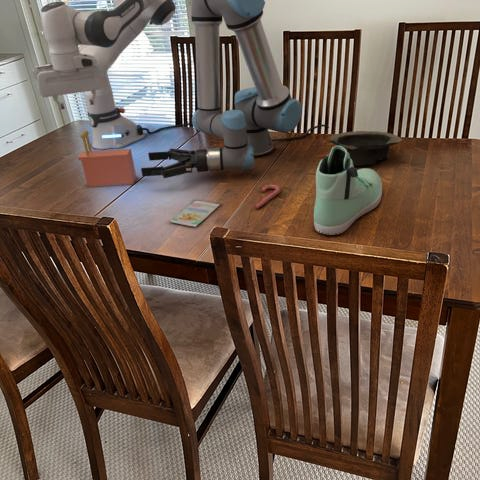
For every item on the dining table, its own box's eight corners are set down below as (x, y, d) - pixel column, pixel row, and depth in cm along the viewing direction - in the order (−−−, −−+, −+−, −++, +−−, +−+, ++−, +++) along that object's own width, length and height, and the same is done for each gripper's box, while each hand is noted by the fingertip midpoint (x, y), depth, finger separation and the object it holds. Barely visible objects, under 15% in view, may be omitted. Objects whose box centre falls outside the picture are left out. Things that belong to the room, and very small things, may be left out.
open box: (87, 186, 165) (80, 160, 160) (92, 180, 170) (85, 154, 165) (133, 184, 165) (127, 157, 159) (136, 177, 169) (131, 151, 164)
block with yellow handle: (78, 160, 160) (72, 135, 156) (83, 154, 165) (77, 130, 160) (127, 157, 159) (122, 132, 155) (131, 151, 164) (126, 127, 160)
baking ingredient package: (169, 220, 138) (195, 199, 150) (169, 222, 139) (195, 200, 150) (195, 225, 135) (220, 203, 146) (195, 227, 135) (220, 205, 147)
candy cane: (241, 205, 145) (241, 201, 144) (268, 186, 155) (268, 182, 154) (258, 210, 142) (258, 205, 141) (284, 190, 152) (284, 185, 151)
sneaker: (389, 187, 148) (396, 123, 138) (356, 242, 123) (361, 168, 112) (346, 181, 154) (350, 119, 144) (306, 232, 129) (307, 161, 118)
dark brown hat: (359, 176, 156) (359, 149, 151) (314, 159, 176) (313, 134, 172) (416, 158, 164) (418, 131, 160) (367, 143, 185) (368, 119, 180)
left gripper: (30, 68, 142) (43, 114, 149) (100, 59, 146) (110, 104, 153) (31, 64, 147) (44, 109, 154) (99, 55, 151) (108, 99, 158)
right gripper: (206, 186, 152) (140, 190, 153) (211, 156, 174) (153, 160, 175) (204, 164, 148) (136, 168, 149) (209, 136, 170) (149, 140, 171)
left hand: (77, 106), depth 154 cm, fingers open, 8 cm apart
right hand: (145, 164), depth 162 cm, fingers open, 13 cm apart
